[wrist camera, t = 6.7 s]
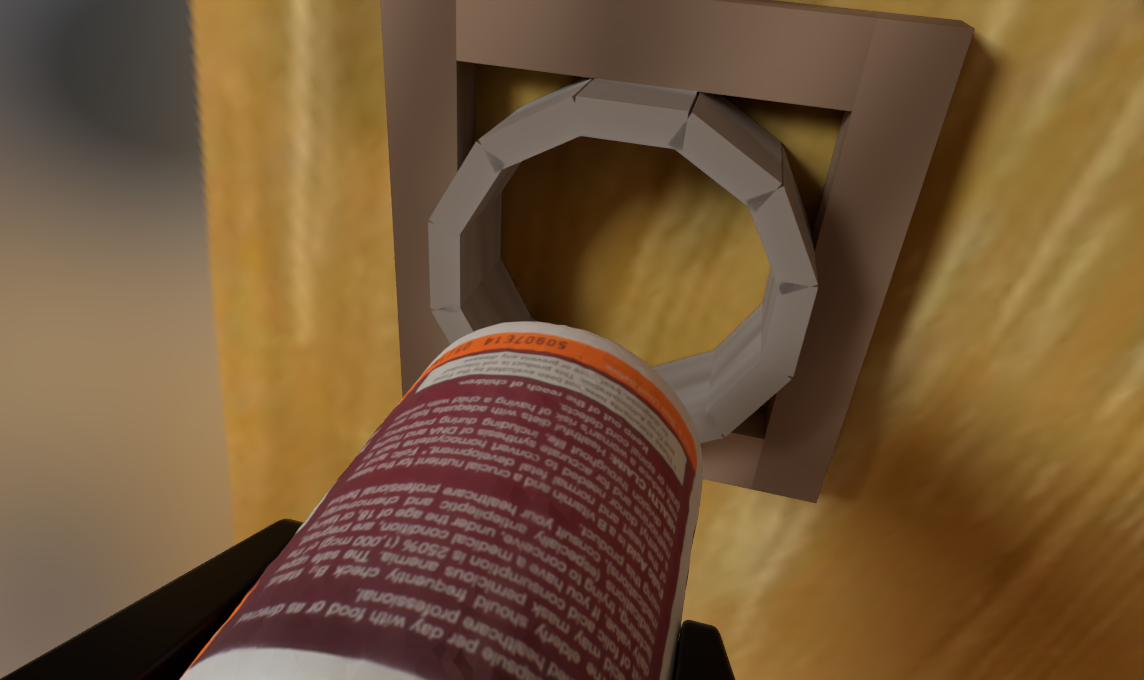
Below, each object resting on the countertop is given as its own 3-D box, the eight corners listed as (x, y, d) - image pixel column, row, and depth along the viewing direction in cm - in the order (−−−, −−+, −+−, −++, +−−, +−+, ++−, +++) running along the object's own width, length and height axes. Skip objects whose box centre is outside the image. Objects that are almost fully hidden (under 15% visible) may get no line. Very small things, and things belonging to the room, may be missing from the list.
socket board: (961, 20, 15) (999, 43, 12) (814, 474, 21) (819, 552, 18) (402, -39, 17) (335, -30, 14) (420, 392, 23) (376, 452, 20)
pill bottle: (383, 318, 11) (-264, 960, 4) (689, 304, 10) (443, 1227, 3) (459, 546, 14) (104, 1217, 7) (719, 561, 12) (617, 1445, 5)
